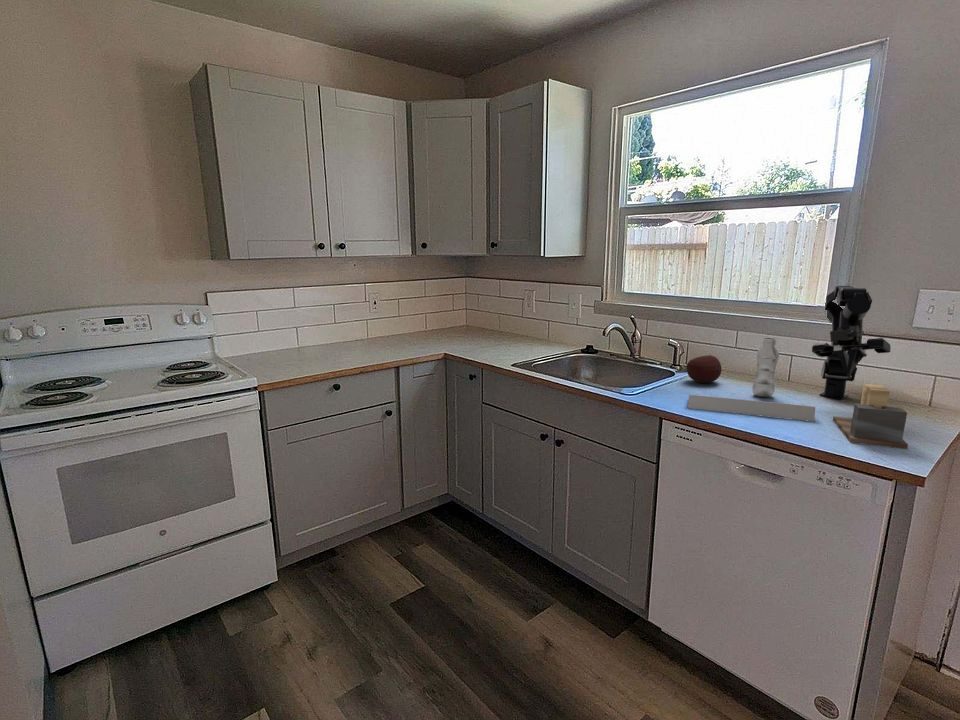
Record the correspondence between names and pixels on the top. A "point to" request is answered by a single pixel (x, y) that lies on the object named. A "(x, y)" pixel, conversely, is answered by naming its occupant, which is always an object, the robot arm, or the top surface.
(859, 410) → the walnut sill
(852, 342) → the robot arm
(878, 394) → the pale yellow box
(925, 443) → the top surface
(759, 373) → the plastic bottle
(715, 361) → the potato
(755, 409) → the decorative molding
